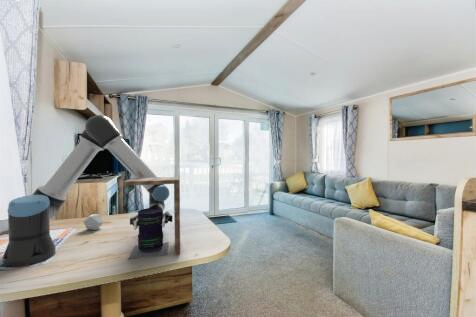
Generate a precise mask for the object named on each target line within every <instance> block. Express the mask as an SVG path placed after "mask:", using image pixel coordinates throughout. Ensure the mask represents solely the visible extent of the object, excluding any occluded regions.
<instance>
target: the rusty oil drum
mask: <svg viewBox="0 0 476 317" xmlns="http://www.w3.org/2000/svg"><path fill="white" fill-rule="evenodd" d="M162 212H163V213H164V211H163V209H161V208H149V207H148V208H147V207H146V208H142V209H139V210H138V211H137V215H138V234H137V242H138V244H137V245H139V246H138V249H139V250H141V251H152V250H156V249H159V248H161V247H162V246H163V243H164V230H163V228H162V220H163V213H162Z"/></svg>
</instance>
